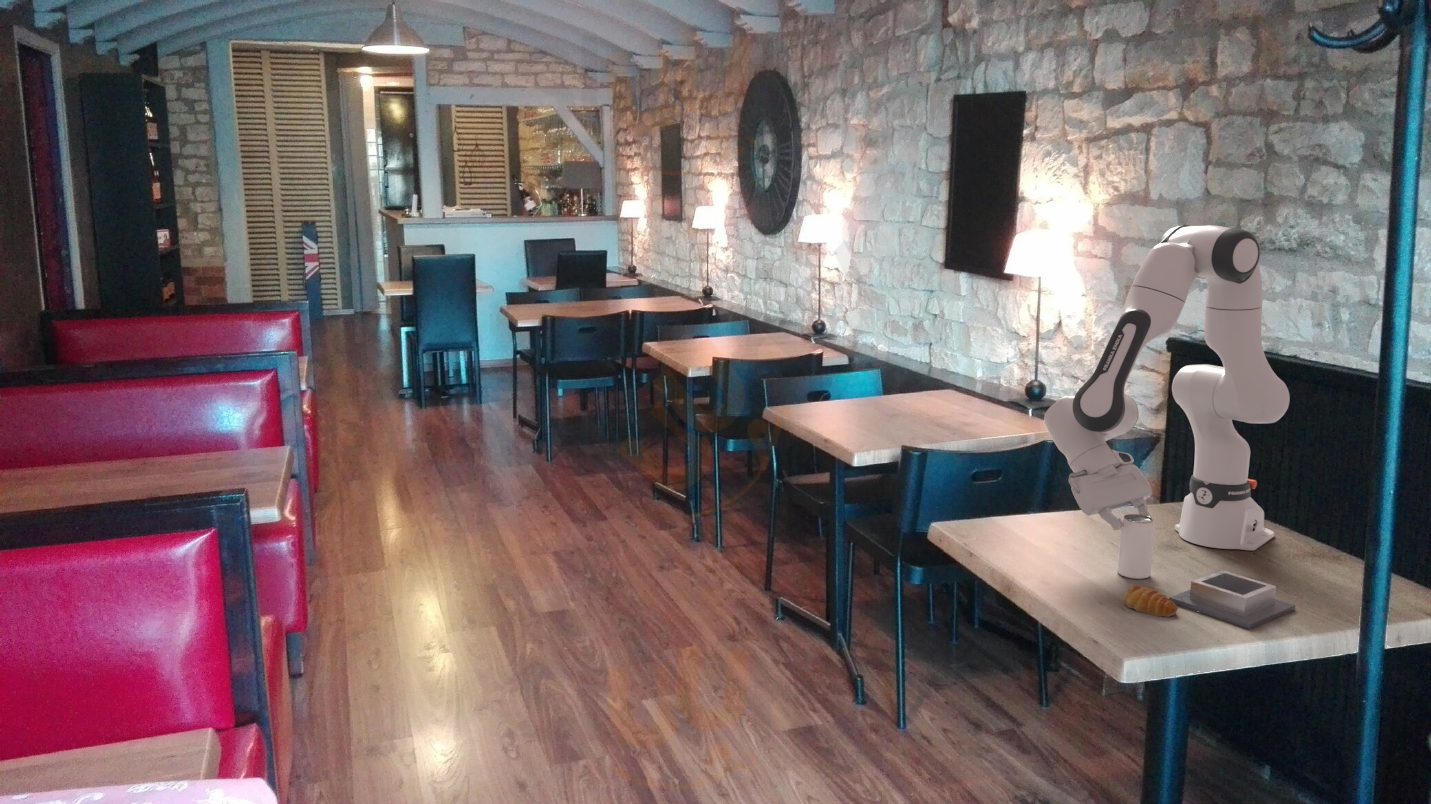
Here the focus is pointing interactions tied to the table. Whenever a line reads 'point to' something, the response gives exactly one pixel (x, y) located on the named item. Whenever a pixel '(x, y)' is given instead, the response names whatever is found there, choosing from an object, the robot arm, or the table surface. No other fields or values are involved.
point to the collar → (1233, 599)
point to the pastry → (1149, 601)
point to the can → (1136, 546)
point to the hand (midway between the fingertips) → (1133, 524)
